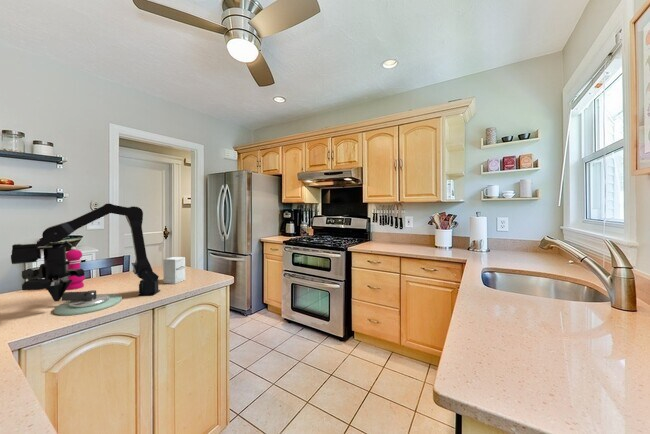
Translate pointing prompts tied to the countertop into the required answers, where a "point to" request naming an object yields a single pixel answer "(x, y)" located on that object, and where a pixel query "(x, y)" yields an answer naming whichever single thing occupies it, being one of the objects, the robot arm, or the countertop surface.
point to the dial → (84, 298)
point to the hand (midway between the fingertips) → (57, 301)
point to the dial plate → (66, 310)
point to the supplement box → (174, 270)
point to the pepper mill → (74, 260)
